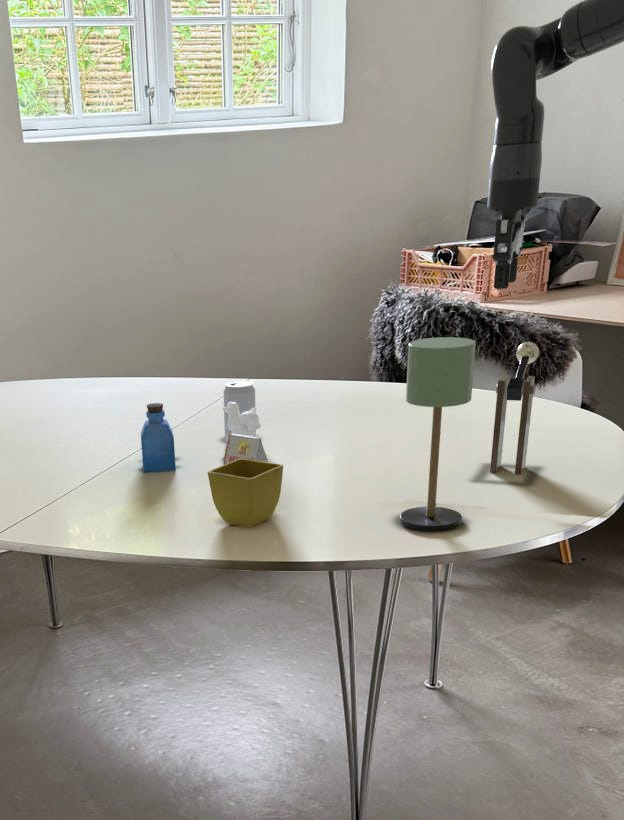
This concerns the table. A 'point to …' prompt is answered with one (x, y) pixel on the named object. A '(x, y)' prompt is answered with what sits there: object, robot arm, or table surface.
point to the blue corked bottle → (157, 441)
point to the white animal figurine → (241, 420)
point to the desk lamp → (437, 412)
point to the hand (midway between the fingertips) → (504, 285)
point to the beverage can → (239, 399)
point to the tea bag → (244, 449)
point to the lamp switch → (521, 369)
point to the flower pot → (246, 491)
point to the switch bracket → (500, 423)
